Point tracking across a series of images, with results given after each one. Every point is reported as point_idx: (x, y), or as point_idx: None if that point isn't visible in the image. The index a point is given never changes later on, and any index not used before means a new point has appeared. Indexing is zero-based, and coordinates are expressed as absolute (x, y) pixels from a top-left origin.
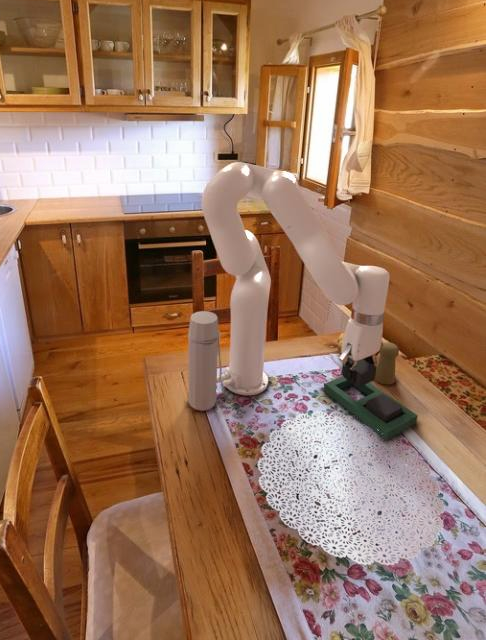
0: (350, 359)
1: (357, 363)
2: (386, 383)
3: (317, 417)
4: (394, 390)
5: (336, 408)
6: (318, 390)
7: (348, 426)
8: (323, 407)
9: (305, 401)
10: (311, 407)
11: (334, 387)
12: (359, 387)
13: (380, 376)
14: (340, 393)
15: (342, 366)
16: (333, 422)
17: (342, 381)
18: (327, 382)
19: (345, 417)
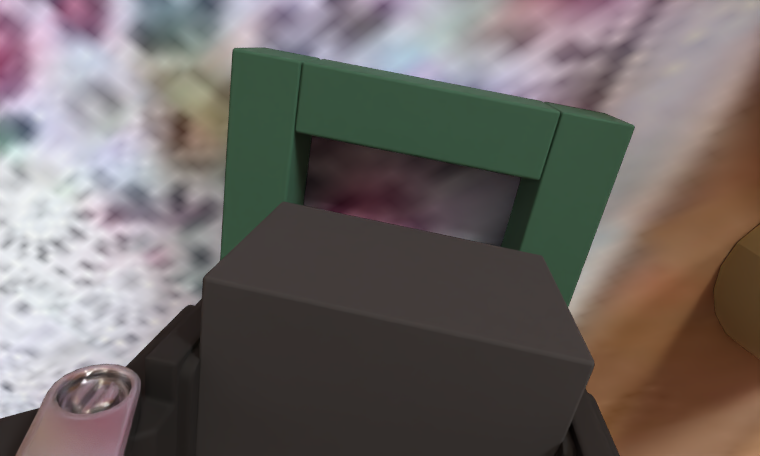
0: (374, 322)
1: (362, 437)
2: (730, 335)
3: (28, 190)
4: (687, 391)
5: (195, 224)
6: (234, 12)
7: (140, 344)
8: (126, 161)
9: (52, 31)
10: (52, 105)
11: (262, 147)
12: (509, 233)
13: (755, 314)
14: (241, 223)
15: (236, 246)
16: (88, 276)
17: (394, 147)
18: (267, 58)
19: (181, 301)
